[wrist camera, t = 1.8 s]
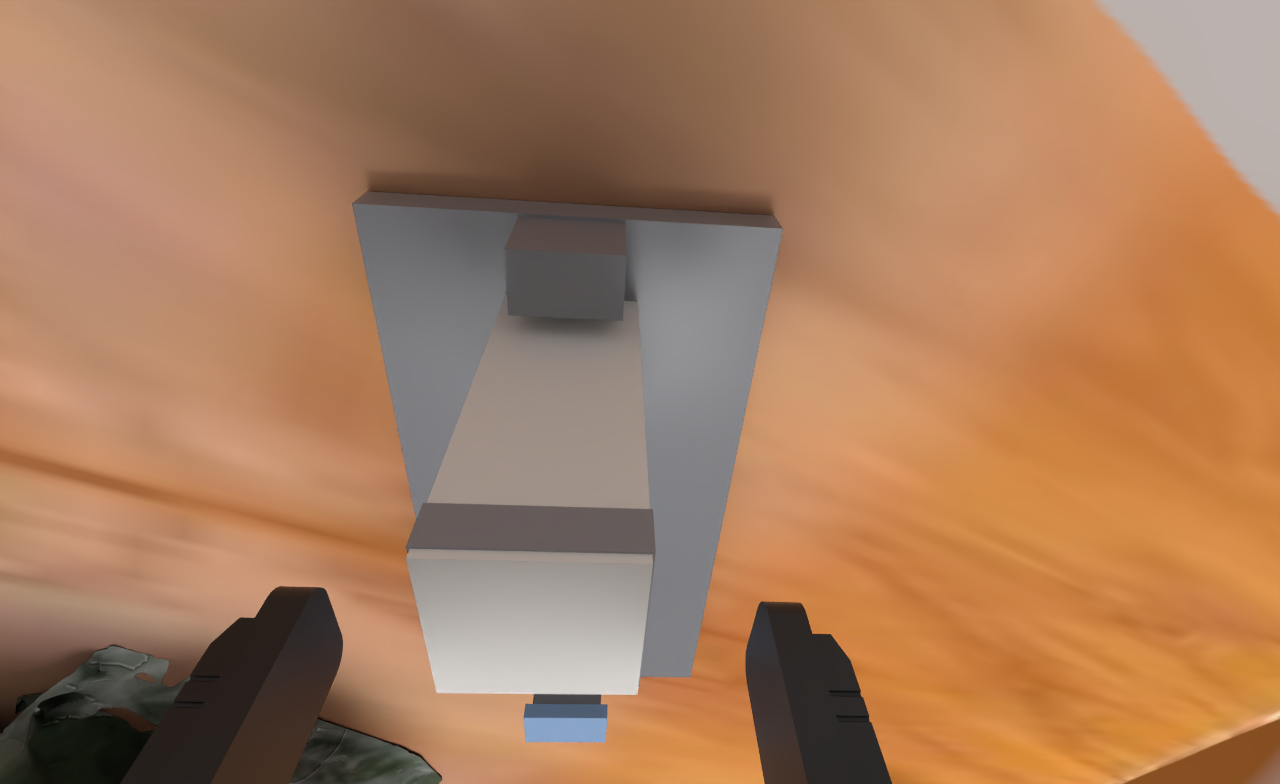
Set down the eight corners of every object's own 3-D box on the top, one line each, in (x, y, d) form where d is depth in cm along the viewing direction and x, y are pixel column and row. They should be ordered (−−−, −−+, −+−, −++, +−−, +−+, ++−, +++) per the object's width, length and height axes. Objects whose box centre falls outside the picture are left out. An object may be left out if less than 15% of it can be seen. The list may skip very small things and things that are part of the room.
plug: (503, 293, 18) (402, 556, 9) (639, 300, 18) (656, 561, 10) (510, 404, 20) (434, 694, 12) (631, 409, 20) (640, 695, 12)
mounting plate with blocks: (367, 191, 17) (301, 243, 14) (773, 215, 18) (812, 271, 14) (453, 652, 30) (430, 741, 26) (687, 655, 31) (696, 742, 27)
